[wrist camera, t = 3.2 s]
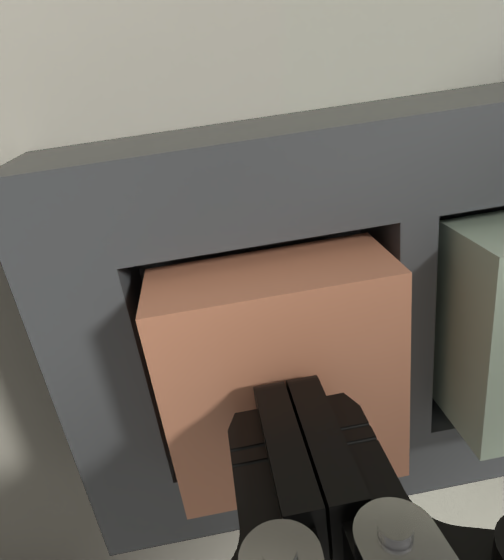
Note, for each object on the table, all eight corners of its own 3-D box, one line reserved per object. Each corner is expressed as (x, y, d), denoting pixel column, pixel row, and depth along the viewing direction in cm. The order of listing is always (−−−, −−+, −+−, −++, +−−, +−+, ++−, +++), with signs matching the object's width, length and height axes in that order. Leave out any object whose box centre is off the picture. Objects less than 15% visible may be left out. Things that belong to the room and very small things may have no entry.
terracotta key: (367, 232, 13) (412, 272, 10) (372, 408, 15) (409, 475, 13) (145, 268, 13) (135, 320, 10) (186, 443, 15) (187, 519, 13)
